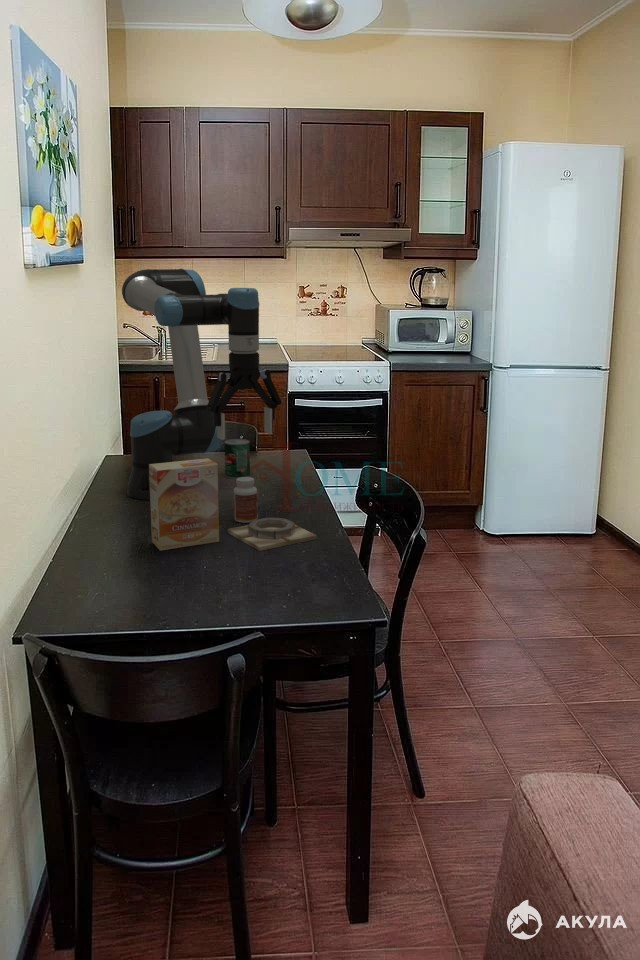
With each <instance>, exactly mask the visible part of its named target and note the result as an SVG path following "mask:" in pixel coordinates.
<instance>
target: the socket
mask: <svg viewBox="0 0 640 960" xmlns="http://www.w3.org/2000/svg"><path fill="white" fill-rule="evenodd" d="M227 534H229V535H231V536H233V538H236V539H237V540H239V541H240V542H243V543H245V544H246V545H248V546H250V547H252V548H254V549H255V550H257V551H258V552H262V551H267V550H271V549H276V548H281V547H285V546H290V545H295V544H300V543H305V542H309V541H316V540H317V537H318V536H317V534H315V533H313V532H312V531H311V532H310V531H308V530H307V529H305V528H302V527H301V526H300V525H296V523H295V522H294V521H292V520H289V519H288V518H282V517H281V518H280V517H270V516H269V517H264V518H258V519H257V520H254V521H252V522H250V523H248V524H247V525H242V526H237V527H230V528H227Z"/></svg>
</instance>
